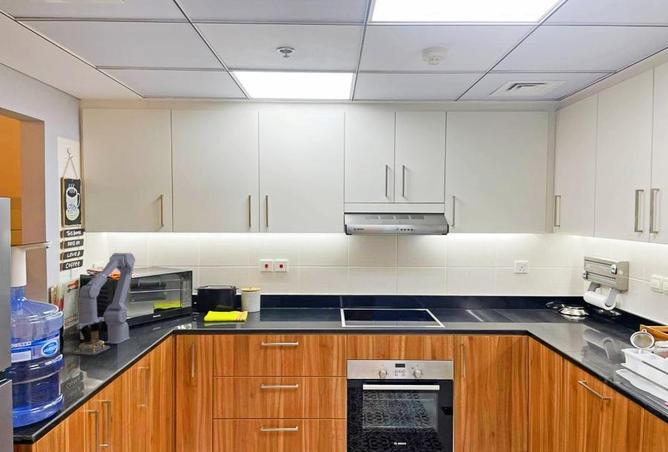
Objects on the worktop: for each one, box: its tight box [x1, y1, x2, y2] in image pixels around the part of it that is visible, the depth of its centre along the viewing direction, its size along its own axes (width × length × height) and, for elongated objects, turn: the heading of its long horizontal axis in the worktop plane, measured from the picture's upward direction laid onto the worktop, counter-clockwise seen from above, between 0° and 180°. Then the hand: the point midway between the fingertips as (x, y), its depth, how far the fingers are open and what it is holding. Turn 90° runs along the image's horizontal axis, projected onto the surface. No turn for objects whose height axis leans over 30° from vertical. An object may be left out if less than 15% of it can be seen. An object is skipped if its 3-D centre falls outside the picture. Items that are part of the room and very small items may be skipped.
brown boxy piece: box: [79, 331, 105, 348], centre depth 207 cm, size 8×9×6 cm
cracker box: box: [77, 296, 90, 340], centre depth 233 cm, size 14×6×21 cm, turn 23°
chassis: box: [73, 340, 111, 356], centre depth 207 cm, size 10×11×4 cm
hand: (91, 340), depth 207 cm, fingers closed on brown boxy piece, 4 cm apart
